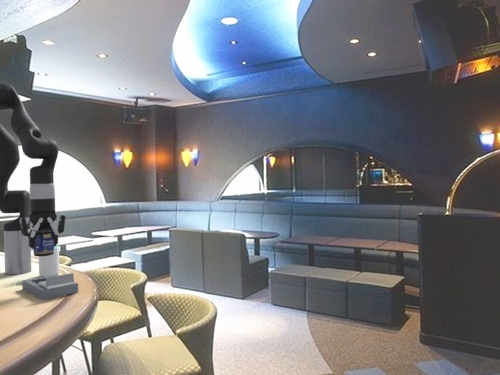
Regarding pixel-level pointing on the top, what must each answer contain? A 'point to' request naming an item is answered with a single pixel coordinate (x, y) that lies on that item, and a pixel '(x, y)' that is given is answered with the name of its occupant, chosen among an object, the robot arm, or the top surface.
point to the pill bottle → (44, 240)
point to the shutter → (57, 281)
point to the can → (49, 264)
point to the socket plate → (44, 293)
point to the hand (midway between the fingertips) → (43, 247)
